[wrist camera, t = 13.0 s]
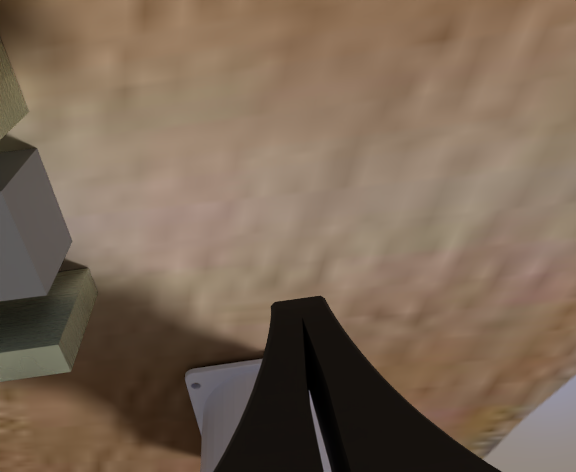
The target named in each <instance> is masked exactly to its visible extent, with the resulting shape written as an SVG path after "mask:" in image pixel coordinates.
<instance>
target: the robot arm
mask: <svg viewBox="0 0 576 472" xmlns="http://www.w3.org/2000/svg"><path fill="white" fill-rule="evenodd" d="M185 382H186V386H187V389H188V392H189V396H190V399H191V403H192V406H193V409H194V413H195V416H196V420H197V423H198V426H199V430H200V433H201V436H202V445H201V469H200V472H501V471H500V470H498V469H496V468H495V467H493V466H492V465H490V464H488V463H487V462H485V461H484V460H482V459H481V458H479V457H478V456H476V455H475V454H474V453H472V452H471V451H469V450H468V449H466V448H465V447H464V446H462V445H461V444H459V443H458V442H457V441H455V440H454V439H453V438H451V437H450V436H449V435H447V434H446V433H445V432H444V431H442V430H441V429H440V428H439V427H437V426H436V425H435V424H434V423H432V422H431V421H430V420H429V419H427V418H426V417H425V416H424V415H422V414H421V413H420V412H419V411H418V410H417V409H416V408H414V407H413V406H412V405H411V404H410V403H409V402H408V401H407V400H405V399H404V398H403V397H402V396H401V395H400V394H399V393H398V392H397V391H396V390H395V389H394V388H393V387H392V386H391V385H390V384H389V383H388V382H387V381H386V380H385V379H384V378H383V377H382V376H381V375H380V373H379V372H378V371H377V370H376V369H375V368H374V367H373V366H372V364H371V363H370V362H369V361H368V360H367V359H366V357H365V356H364V355H363V354H362V353H361V351H360V350H359V349H358V348H357V346H356V345H355V344H354V343H353V341H352V340H351V339H350V337H349V336H348V335H347V333H346V332H345V331H344V329H343V328H342V326H341V325H340V323H339V322H338V320H337V319H336V317H335V316H334V314H333V313H332V311H331V309H330V307H329V306H328V304H327V302H326V300H325V298H323V297H322V296H315V297H308V298H300V299H293V300H286V301H279V302H274V303H273V304H272V306H271V321H270V328H269V334H268V339H267V343H266V347H265V351H264V355H263V359H257V360H250V361H243V362H236V363H229V364H222V365H215V366H208V367H201V368H194V369H190V370H188V371H187V372H186V374H185ZM194 383H198V384H194Z"/></svg>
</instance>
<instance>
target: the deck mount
mask: <svg viewBox="0 0 576 472" xmlns="http://www.w3.org/2000/svg"><path fill="white" fill-rule="evenodd" d="M28 112H29V111H28V109H27V106H26V103H25V101H24V98H23V95H22V93H21V90H20V88H19V85H18V82H17V80H16V77H15V74H14V72H13V69H12V67H11V64H10V61H9V59H8V56H7V54H6V51H5V48H4V46H3V43H2V40H1V38H0V140H1V139H2V138H3V137H4V136H5V135H6V134H7V133H8V132H9V131H10V130H11V129H12V128H13V127H14V126H15V125H16V124H17V123H18V122H19V121H20V120H21V119H22V118H23V117H24V116H25V115H26V114H27V113H28ZM97 294H98V292H97V290H96V287H95V284H94V282H93V279H92V276H91V274H90V271H89V269H88V268H85V269H78V270H70V271H63V272H58V273H57V275H56V277H55V279H54V281H53V283H52V286H51V288H50V290H49V292H48V294H47V295H45V296H38V297H30V298H22V299H15V300H7V301H0V382H3V381H10V380H17V379H24V378H31V377H38V376H45V375H52V374H59V373H66V372H71V370H72V368H73V365H74V362H75V359H76V356H77V353H78V350H79V347H80V344H81V341H82V338H83V335H84V332H85V329H86V326H87V323H88V320H89V317H90V315H91V312H92V309H93V306H94V303H95V300H96V297H97Z"/></svg>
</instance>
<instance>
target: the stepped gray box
mask: <svg viewBox="0 0 576 472" xmlns="http://www.w3.org/2000/svg"><path fill="white" fill-rule="evenodd" d="M71 243H72V239H71V236H70V234H69V231H68V228H67V226H66V223H65V220H64V218H63V215H62V213H61V210H60V207H59V205H58V202H57V199H56V197H55V194H54V192H53V189H52V186H51V184H50V181H49V178H48V176H47V173H46V170H45V168H44V165H43V163H42V160H41V157H40V155H39V152H38V149H37V148H35V149H26V150H17V151H9V152H0V301H7V300H15V299H22V298H30V297H38V296H45V295H47V294H48V292H49V290H50V288H51V286H52V283H53V281H54V279H55V277H56V275H57V273H58V271H59V269H60V267H61V264H62V262H63V260H64V258H65V256H66V254H67V252H68V250H69V248H70V245H71Z"/></svg>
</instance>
